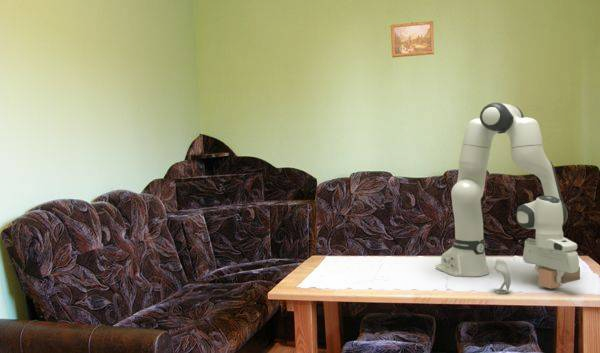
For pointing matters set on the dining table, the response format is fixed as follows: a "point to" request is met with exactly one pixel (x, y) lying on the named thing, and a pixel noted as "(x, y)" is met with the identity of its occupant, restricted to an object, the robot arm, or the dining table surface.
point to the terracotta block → (548, 278)
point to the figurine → (503, 269)
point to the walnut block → (570, 276)
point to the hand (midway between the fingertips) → (549, 279)
